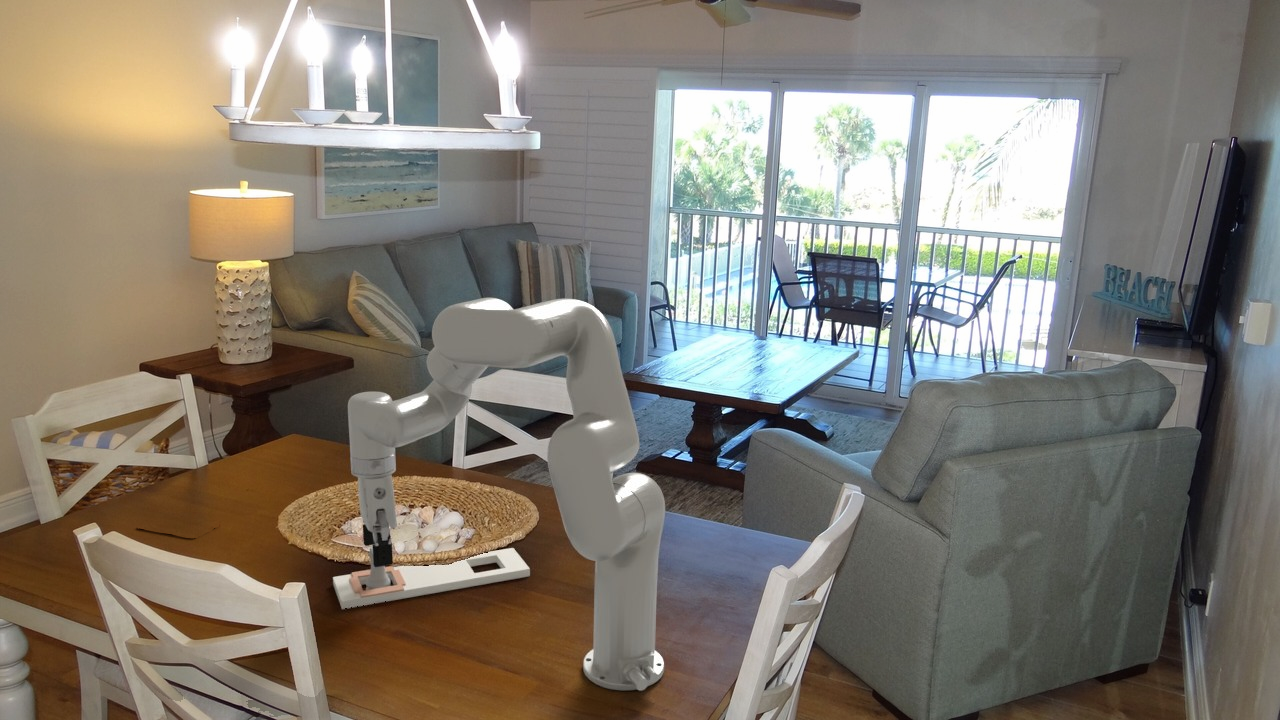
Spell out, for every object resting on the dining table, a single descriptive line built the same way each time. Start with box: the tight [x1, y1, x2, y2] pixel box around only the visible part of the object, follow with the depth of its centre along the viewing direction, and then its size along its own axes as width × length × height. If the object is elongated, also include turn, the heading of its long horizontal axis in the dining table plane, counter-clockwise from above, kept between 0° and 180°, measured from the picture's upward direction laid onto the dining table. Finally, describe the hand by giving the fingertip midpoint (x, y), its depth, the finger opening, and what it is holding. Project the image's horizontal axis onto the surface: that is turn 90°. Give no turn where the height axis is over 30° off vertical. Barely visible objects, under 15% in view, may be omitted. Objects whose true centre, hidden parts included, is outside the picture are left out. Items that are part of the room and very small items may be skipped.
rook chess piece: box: [365, 546, 392, 590], centre depth 174 cm, size 4×4×8 cm
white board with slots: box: [332, 547, 531, 610], centre depth 179 cm, size 10×34×2 cm, turn 115°
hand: (377, 554), depth 173 cm, fingers open, 9 cm apart
